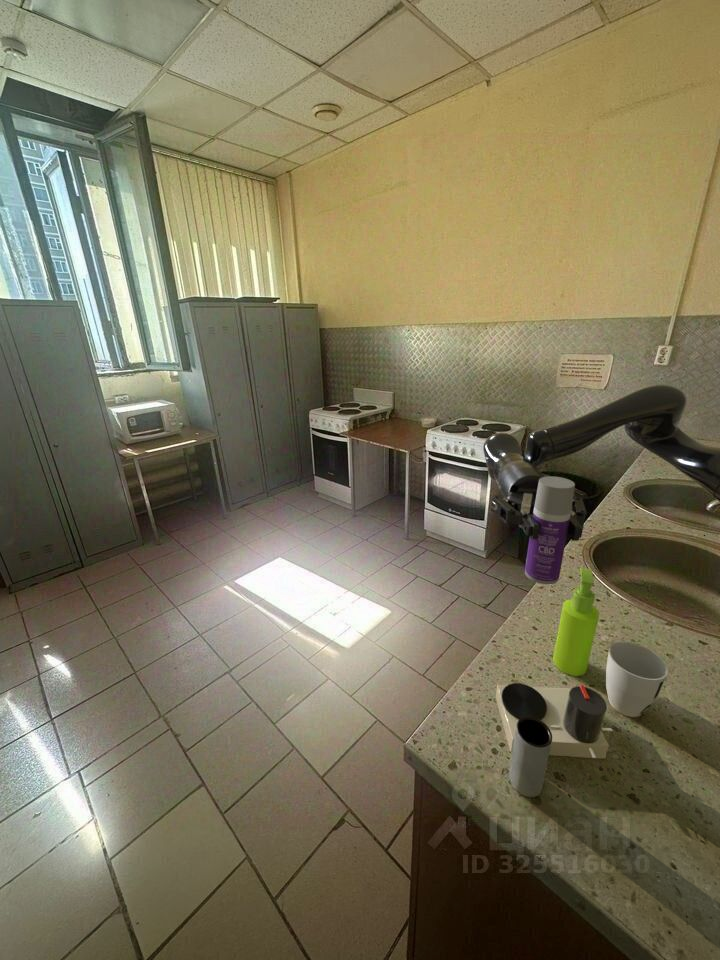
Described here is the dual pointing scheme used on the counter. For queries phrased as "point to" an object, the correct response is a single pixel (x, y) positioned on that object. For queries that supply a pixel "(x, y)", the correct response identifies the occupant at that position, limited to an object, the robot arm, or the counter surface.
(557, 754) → the hob
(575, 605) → the soap dispenser
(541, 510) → the container
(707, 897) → the counter surface
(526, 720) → the planter
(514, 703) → the hotplate
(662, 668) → the cup
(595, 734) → the knob
